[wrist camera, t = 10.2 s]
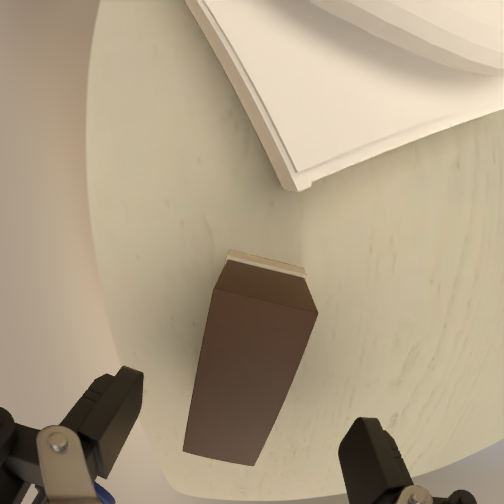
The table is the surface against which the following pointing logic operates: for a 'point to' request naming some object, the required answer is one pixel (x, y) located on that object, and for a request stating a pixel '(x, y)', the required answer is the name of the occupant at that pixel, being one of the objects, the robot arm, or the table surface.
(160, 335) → the table surface
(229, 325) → the brown block cream base
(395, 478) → the robot arm
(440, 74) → the white lidded box
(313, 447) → the table surface
